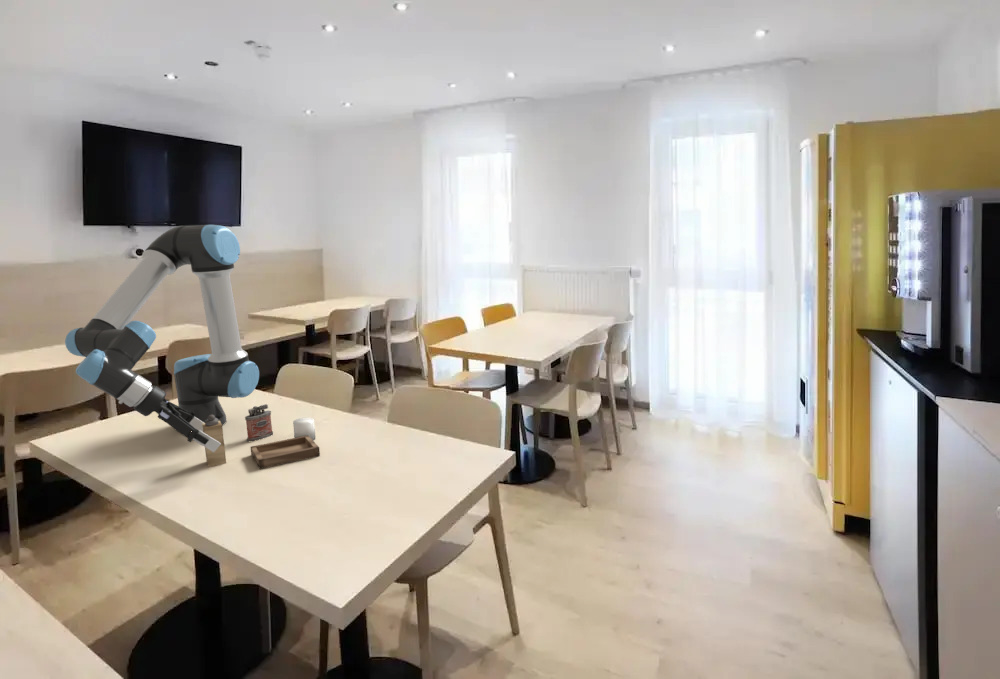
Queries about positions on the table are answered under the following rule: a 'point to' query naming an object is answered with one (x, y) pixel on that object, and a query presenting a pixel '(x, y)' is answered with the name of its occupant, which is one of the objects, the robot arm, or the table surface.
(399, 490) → the table surface
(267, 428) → the lighter
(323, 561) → the table surface
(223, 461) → the pepper mill
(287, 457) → the tray
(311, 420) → the white pillar candle
